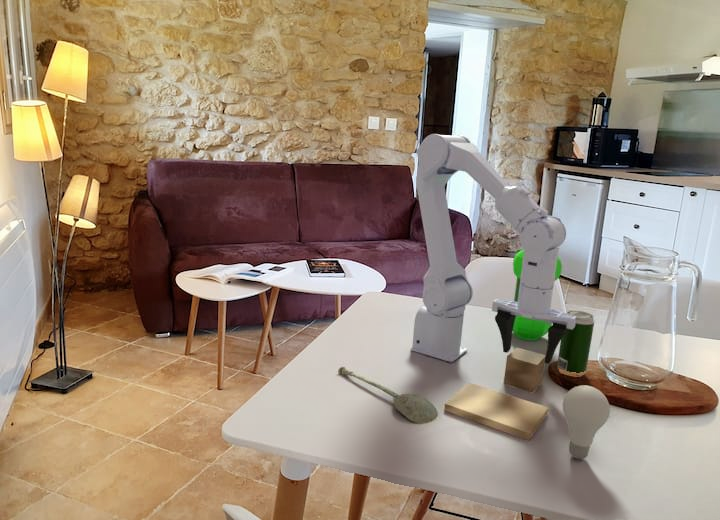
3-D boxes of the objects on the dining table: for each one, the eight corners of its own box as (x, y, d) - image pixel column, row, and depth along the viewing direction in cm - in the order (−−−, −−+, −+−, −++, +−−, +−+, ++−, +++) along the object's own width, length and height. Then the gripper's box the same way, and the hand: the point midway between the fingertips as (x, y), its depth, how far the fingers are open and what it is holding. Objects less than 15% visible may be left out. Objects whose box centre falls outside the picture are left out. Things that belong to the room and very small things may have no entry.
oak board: (444, 410, 89) (445, 403, 89) (468, 388, 97) (469, 382, 97) (528, 440, 82) (529, 433, 82) (547, 414, 90) (548, 407, 90)
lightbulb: (598, 451, 80) (611, 383, 77) (601, 475, 74) (615, 402, 72) (554, 442, 82) (565, 374, 79) (554, 464, 76) (566, 392, 74)
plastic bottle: (495, 334, 125) (508, 227, 119) (520, 325, 132) (534, 223, 126) (534, 348, 118) (550, 235, 112) (558, 337, 125) (575, 231, 119)
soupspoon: (418, 435, 84) (444, 423, 88) (421, 415, 83) (447, 404, 87) (327, 378, 99) (354, 370, 104) (329, 361, 98) (356, 354, 103)
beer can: (574, 380, 103) (583, 321, 100) (550, 369, 108) (559, 312, 105) (591, 375, 106) (601, 317, 103) (567, 364, 110) (576, 308, 108)
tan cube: (503, 384, 100) (507, 356, 99) (513, 374, 105) (516, 347, 104) (533, 393, 97) (537, 364, 96) (542, 382, 102) (546, 355, 101)
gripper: (489, 281, 97) (481, 352, 100) (573, 298, 89) (562, 374, 93) (502, 274, 103) (495, 341, 106) (583, 289, 95) (572, 361, 98)
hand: (527, 356), depth 100 cm, fingers open, 7 cm apart
